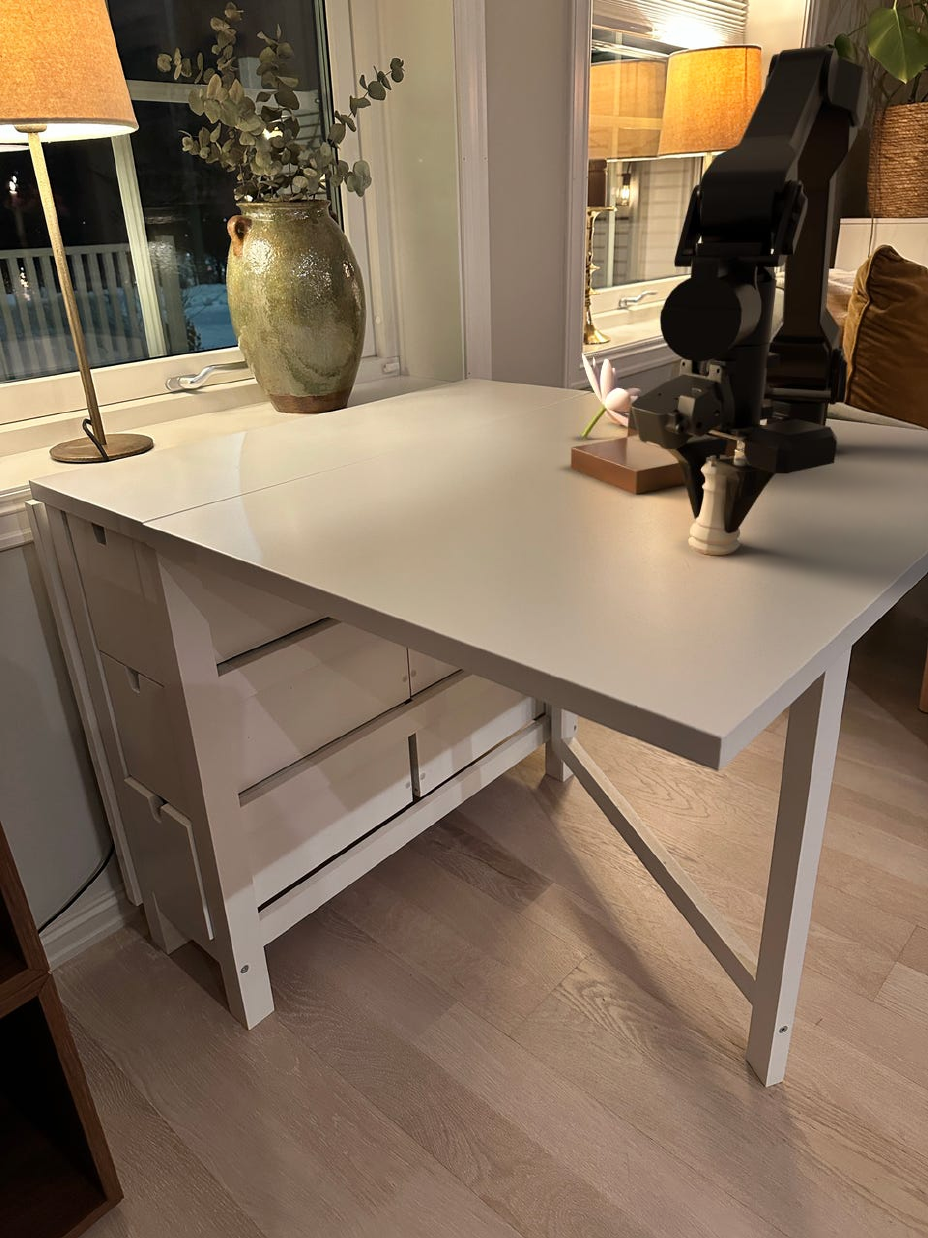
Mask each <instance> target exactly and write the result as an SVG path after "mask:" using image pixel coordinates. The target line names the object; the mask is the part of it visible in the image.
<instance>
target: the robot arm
mask: <svg viewBox="0 0 928 1238" xmlns="http://www.w3.org/2000/svg"><path fill="white" fill-rule="evenodd" d="M838 53H839V52H838V50H837V48H835V47H832V48H831V47H829V46H828V45H818V46H810V47H809V46H808V47H799V48H789V49H783V50H781V51H780V52H779V53H775V54H773V55H772V56H771V58H770V62H769V67H768V72H767V75H766V76H765V83H764V84H765V85H764V88H763V91H762V94H761V95H760V98H759V100H758V102H757V104H756V106H755V109H754V111H753V113H752V115H751V117H750V120H749V121H748V123H747V126H746V129H745V131H744V133H743V134H742V137H741V139H740V141H739V142H738V144H737V145H735V146H733V147H731V148H729V149H727V150H724V151H723V152H721V153H719V154H717V155H716V156H715V157H714V158H713V159H712V161H711V162H710V164H709V165H708V167H707V168H706V170H705V171H704V172H703V174H702V176H701V177H700V178H701V179H700V180H699V184H696V185H694V187H693V189H692V192H691V194H690V199H689V202H688V207H687V211H686V214H685V217H684V220H683V221H684V222H683V226H682V230H681V233H680V237H679V241H678V244H677V248H676V252H675V255H674V259H673V265H674V267H675V268H690V277H689V278H686V279H685V280H683V281H682V282H680V283H678V284H677V285H676V286H675V287H674V288H673V289H672V290H671V291H670V293H669V295H667V297H666V299H665V301H664V303H663V306H662V309H661V310H660V317H659V324H660V331H661V334H662V335H661V336H662V337H663V340H664V342H665V343H666V345H667V346H668V348H669V349H670V350H671V351H672V352H673V353H674V354H675V355H677V356H679V357H680V358H682V359H681V361H680V366H679V372H678V376H677V377H675V378H673V379H671V380H668V381H665V382H663V383H662V384H660V385H657V386H656V387H655V388H653V389H651V390H650V391H648V392H646V393H644V394H643V395H640V396H639V397H638V398H637V399H636V400H635V401H634V402H633V403H632V404H631V407H630V412H629V429H633V430H636V431H638V435H639V439H640V441H642V442H645V443H646V442H652V443H655V444H658V445H660V446H661V447H662V448H664V449H666V450H667V451H668V452H670V453H671V454H672V455H673V456H674V457H675V458H676V459H677V461H678V463H679V465H680V468H681V471H682V474H683V477H684V481H685V484H684V485H685V488H686V492H687V494H688V499H689V503H690V506H691V507H690V508H691V510H692V514H693V518H694V520H695V521H696V518H697V517H699V514H700V511H701V507H702V503H703V498H704V489H703V488H702V486H703V484H704V483H705V481H706V479H705V476H704V474H703V473H702V471H701V468H702V467H703V466H704V465H705V464H706V458H707V457H709V458H710V456H713V455H715V456H716V462H717V463H718V465H719V466H720V468H721V469H722V470H723V472H724V473H725V475H726V491H725V509H724V525H725V532H727V533H732V532H736V531H737V530H738V528H739V529H740V527H741V525H742V524H743V522H744V520H745V519H746V517H747V516H748V514H749V513H750V511H751V509H752V507H753V506H754V504H756V501H757V500H758V498H759V496H760V495H761V493H762V492H763V491H764V489H765V488H766V487H767V485H768V484H769V482H770V481H771V480H772V478H773V477H774V476H775V475H776V474H781V475H782V474H783V475H786V474H791V473H796V472H799V471H801V472H802V471H805V470H809V469H814V468H819V467H823V466H828V465H832V464H834V463H835V460H836V459H835V458H836V453H837V446H838V438H837V437H838V436H837V435H836V434H835V432H834V431H833V429H832V428H831V426H828V425H826V424H827V418H828V410H829V405H832V406H834V405H836V404H839V403H840V404H841V403H845V400H846V394H847V386H848V371H849V370H848V367H849V363H848V361H847V360H846V359H845V349H844V348H840V337H841V336H840V335H841V328H840V325H839V324H838V323H837V321H836V320H835V318H834V316H833V315H832V314H831V312H830V310H829V309H828V308H827V303H828V289H829V277H830V266H831V265H830V262H831V249H832V238H833V237H832V236H833V225H834V223H833V222H834V212H835V211H834V210H835V198H836V186H837V185H836V182H837V173H838V172H837V171H838V169H839V168H840V166H841V164H843V161H844V160H845V159H846V157H847V155H848V154H849V152H850V150H851V148H852V146H853V144H854V142H855V140H856V138H857V135H858V130H859V127H862V126H863V125H864V122H865V119H866V114H867V109H868V103H869V102H868V101H869V81H868V78H867V74H866V70H865V68H864V67H863V66H861V65H859V64H857V63H854V62H851V61H849V60H847V59H845V58H842V57H840V56H839V54H838ZM700 240H701V242H700ZM783 266H784V276H783V277H784V279H783V298H782V299H783V302H782V317H781V318H780V319H779V321H778V322H777V324H776V325H775V327H774V329H773V332H772V327H773V320H774V319H773V318H774V309H775V300H776V293H777V292H776V291H777V285H778V284H777V283H778V282H777V280H778V279H777V274H776V272H775V268H781V267H783ZM828 388H829V389H830V390H827V389H828ZM766 400H770V402H769V404H767V403H764V401H766ZM764 420H766V423H765V424H761V421H764ZM732 429H737V430H738V432H736V431H733V430H732ZM728 441H730V442H733V443H737V449H735V454H734V456H732V457H727V458H722V459H720V455H725V451H726V447H727V443H728Z"/></svg>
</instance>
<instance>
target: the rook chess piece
mask: <svg viewBox="0 0 928 1238" xmlns="http://www.w3.org/2000/svg"><path fill="white" fill-rule="evenodd" d="M730 457H732V456H730ZM722 458H726V455H720V459H722ZM701 471H702V473H703V474H704V476H705V479H706V481H705V483H704V484H703V486H702V488H703V489H704V498H703V503H702V507H701V511H700V514H699V517H697V518H696V520H695V522H693V524H692V525H691V527H690V530H689V534H690V535H691V537H689V538H688V541H687V543H688V544H689V546H690V547H691V549H692V550H693V551H695V552H697V553H699V554H703V555H711V556H724V555H729V554H732V553H734V552H735V551H736V550H737V549H738V548H739V547H740V544H741V542H740V541H739V540H738V538H740V536H741V531H740V527H739V528H738V530H737V531H736V532H732V533H727V532H725V525H724V509H725V491H726V475H725V473H724V472H723V470H722V469H721V468H720V466H719V465H718V463H717V462H716V456H715V455H713V456H710V458H709V457H707V458H706V464H705V465H704V466H703V467H702V468H701Z"/></svg>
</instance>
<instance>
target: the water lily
mask: <svg viewBox="0 0 928 1238" xmlns="http://www.w3.org/2000/svg"><path fill="white" fill-rule="evenodd" d="M581 357H582V362H583V367H584V370H585V373H586V376H587V378H588V381H589V384H590V386H591V388H592V389H593V391H594V393H595V395H596V397H597V399H598V400H599V402H600V403H601V404H602V408H601V409H600V410H599V412H598V413H596V415H595V416H594V418H593V419H592V420H591V421H590V423H589V424H588V425H587V427H586V428H585V430H584V431H583V433H582V435H581V437H582V438H583V439H584V440H585V439H586V440H587V437H588V436H589V434H590V432H592V430H593V428H594V427H595V425H596V424H597V423H598V421H599V420H600V419H601V417H602V416H603V414H605V416H606V417H607V418H608V419H609V421H611V422H612V423H613V424H616V425H617V426H618V425H619V426H621V425H623V426H625V428H628V412H629V407H631V404H632V403H633V402H634V401H635V400H636V399H637V398H638V397H639V396H641V393H642V391H641V388H639V387H638V388H636V387H629V388H626V389H623V388H620V387H619V378H618V373H617V370H616V368H615V367H612V364H611V363H610V361H609V359H608V358H606V359H604V361H603V364H602V368H601V371H600V369H599V366H598V364H597V361H596V358H595V357H594V356H593V357H592V358H593V359H592V364H593V365H591V364H590V362H589V360H588V359H587V358H586V356H585V355H584V354H583V353H581ZM592 367H593V368H592Z"/></svg>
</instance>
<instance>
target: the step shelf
mask: <svg viewBox="0 0 928 1238" xmlns="http://www.w3.org/2000/svg"><path fill="white" fill-rule="evenodd" d="M629 412H630V407H629ZM629 412H628V413H627V414H628V427H627V434H626V435H627V436H626V437H622V438H620V437H619V438H616V439H610V440H605V441H598V442H593V443H587V444H581V445H577V446H572V447H571V448H570V449H571V452H570V459H571V460H570V469H571V470H574V471H577V472H579V473H581V474H585V475H586V476H590V477H592V478H594V479H597V480H599V481H601V482H604V483H607V484H609V485H612V486H614V487H616V488H620V489H622V490H624V491H627V492H628V493H629V492H630V493H632V494H635V495H639V494H642V493H648V492H653V491H657V490H662V489H666V488H671V487H676V486H681V485H686V484H685V481H684V477H683V474H682V471H681V468H680V465H679V463H678V461H677V459H676V458H675V457H674V456H673V455H672V454H671V453H670V452H668V451H667V450H666V449H664V448H662V447H661V446H660V445H658V444H655V443H652V442H646V443H645V442H642V441H640V439H639V435H638V431H636V430H633V429H629ZM732 430H733V431H736V432H738V430H737V429H732ZM735 449H737V443H733V442H730V441H728V443H727V447H726V451H725V455H726V458H727V457H730V456H734V454H735Z"/></svg>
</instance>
